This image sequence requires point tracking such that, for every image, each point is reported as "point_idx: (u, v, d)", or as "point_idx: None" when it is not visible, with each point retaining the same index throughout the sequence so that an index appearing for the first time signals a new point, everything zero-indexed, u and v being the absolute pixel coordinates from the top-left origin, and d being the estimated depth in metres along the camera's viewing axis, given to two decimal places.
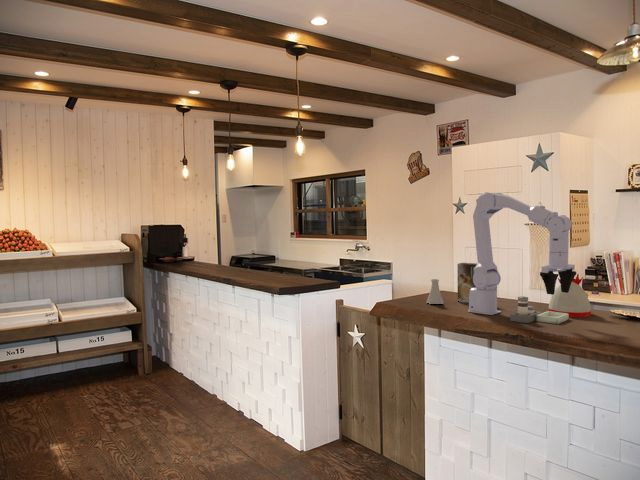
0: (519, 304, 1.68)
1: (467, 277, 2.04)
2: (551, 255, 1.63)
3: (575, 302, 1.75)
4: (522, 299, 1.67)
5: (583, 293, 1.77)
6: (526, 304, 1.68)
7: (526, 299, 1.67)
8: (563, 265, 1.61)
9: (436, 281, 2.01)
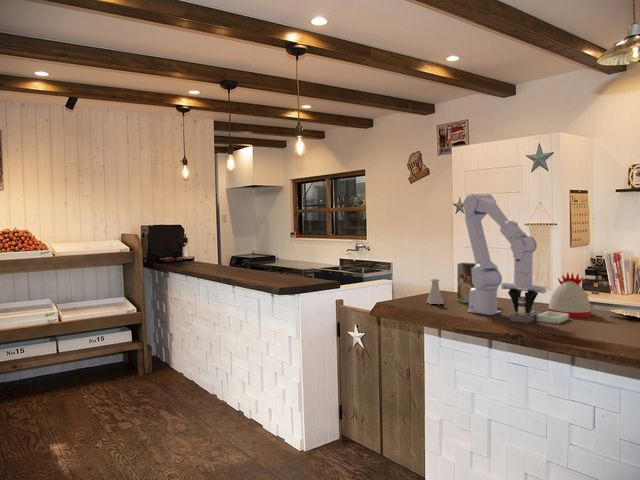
0: (519, 304, 1.68)
1: (467, 277, 2.04)
2: None
3: (575, 302, 1.75)
4: (522, 299, 1.67)
5: (583, 293, 1.77)
6: None
7: None
8: (516, 284, 1.68)
9: (436, 281, 2.01)
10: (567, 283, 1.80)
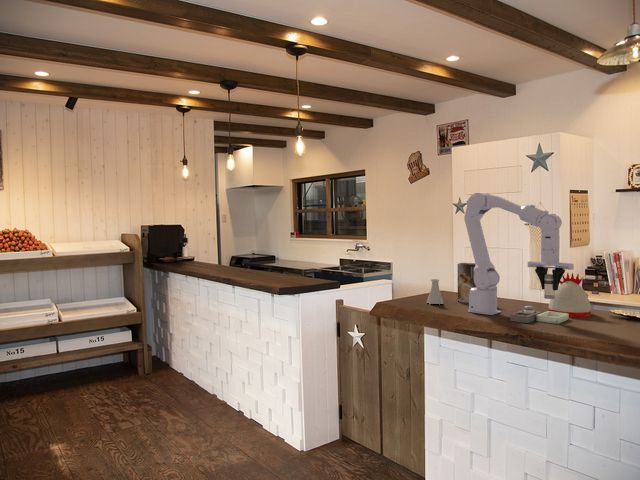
0: (546, 281, 1.68)
1: (467, 277, 2.04)
2: None
3: (575, 302, 1.75)
4: (549, 276, 1.67)
5: (583, 293, 1.77)
6: None
7: (552, 276, 1.67)
8: (543, 262, 1.67)
9: (436, 281, 2.01)
10: (567, 283, 1.80)
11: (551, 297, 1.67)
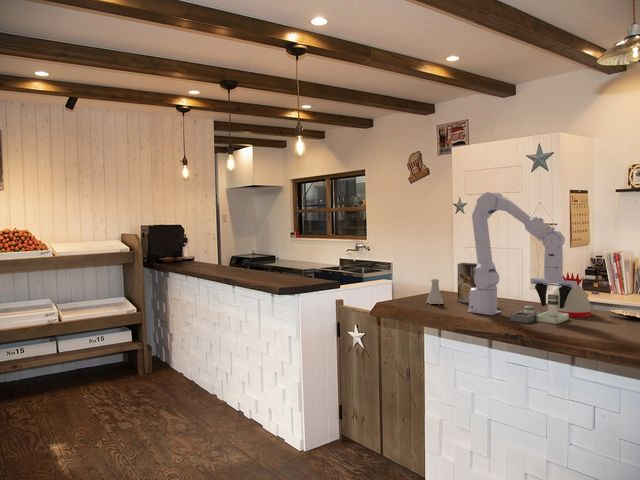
0: (549, 302, 1.68)
1: (467, 277, 2.04)
2: None
3: (575, 302, 1.75)
4: (552, 297, 1.67)
5: (583, 293, 1.77)
6: (556, 302, 1.67)
7: (556, 297, 1.67)
8: (546, 279, 1.68)
9: (436, 281, 2.01)
10: None
11: None
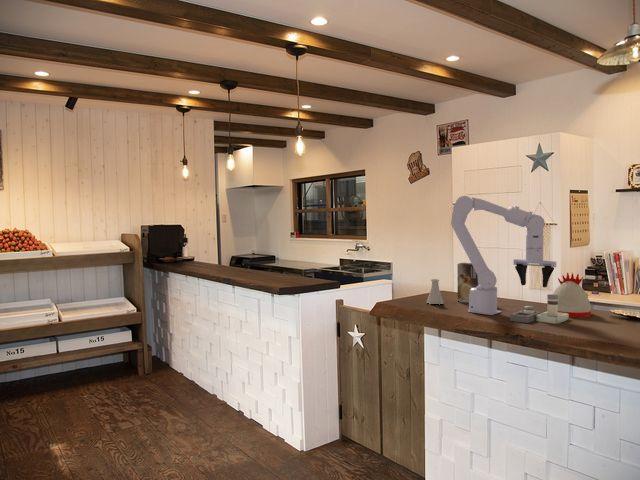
0: (549, 302, 1.69)
1: (467, 277, 2.04)
2: None
3: (575, 302, 1.75)
4: (552, 297, 1.68)
5: (583, 293, 1.77)
6: (556, 302, 1.68)
7: (555, 297, 1.67)
8: (528, 259, 1.77)
9: (436, 281, 2.01)
10: (567, 283, 1.80)
11: None
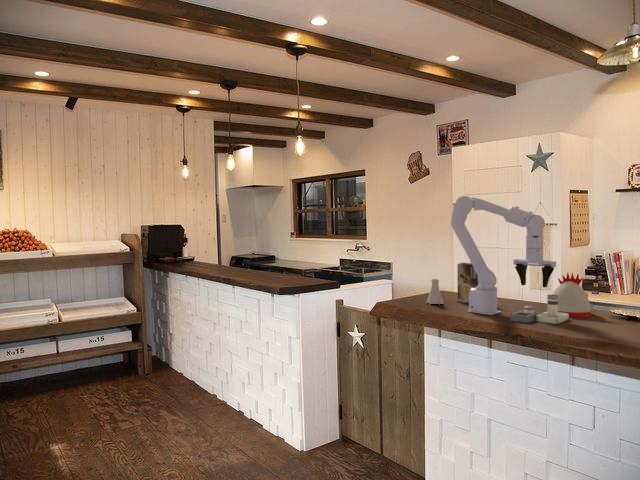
0: (549, 302, 1.68)
1: (467, 277, 2.04)
2: None
3: (575, 302, 1.75)
4: (552, 297, 1.68)
5: (583, 293, 1.77)
6: (556, 302, 1.68)
7: (555, 297, 1.67)
8: (528, 259, 1.77)
9: (436, 281, 2.01)
10: (567, 283, 1.80)
11: None
